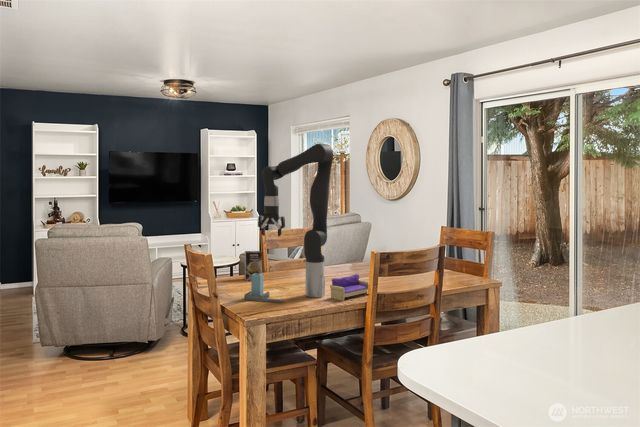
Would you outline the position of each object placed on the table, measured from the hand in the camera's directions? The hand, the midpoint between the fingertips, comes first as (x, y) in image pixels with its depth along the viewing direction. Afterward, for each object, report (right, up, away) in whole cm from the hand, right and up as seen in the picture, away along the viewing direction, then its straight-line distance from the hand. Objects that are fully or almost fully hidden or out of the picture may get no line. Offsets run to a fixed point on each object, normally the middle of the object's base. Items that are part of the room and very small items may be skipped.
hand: (271, 235), depth 284 cm
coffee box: (-13, -26, +26) cm, 39 cm away
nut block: (-5, -29, -19) cm, 35 cm away
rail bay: (0, -30, -21) cm, 37 cm away
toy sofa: (+40, -30, -13) cm, 52 cm away
